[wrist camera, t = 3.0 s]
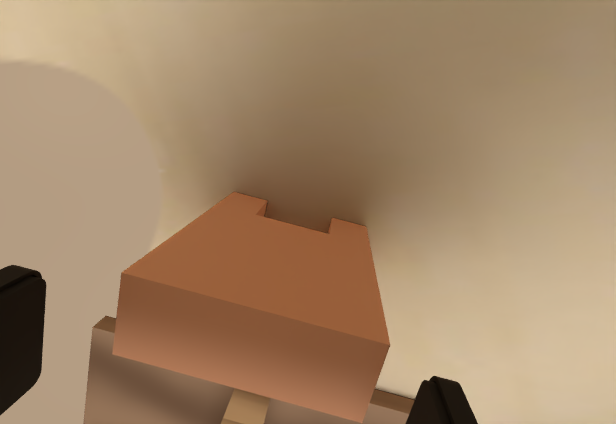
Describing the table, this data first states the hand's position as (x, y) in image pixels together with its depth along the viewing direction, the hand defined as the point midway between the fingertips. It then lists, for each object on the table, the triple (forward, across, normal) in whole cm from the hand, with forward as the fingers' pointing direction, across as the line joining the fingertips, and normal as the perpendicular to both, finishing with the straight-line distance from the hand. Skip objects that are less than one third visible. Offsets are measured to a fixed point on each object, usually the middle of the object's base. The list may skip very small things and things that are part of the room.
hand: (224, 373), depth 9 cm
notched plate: (+11, 0, 0) cm, 11 cm away
